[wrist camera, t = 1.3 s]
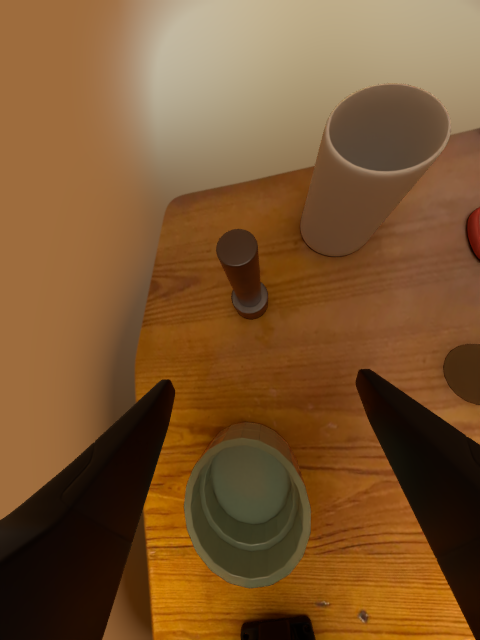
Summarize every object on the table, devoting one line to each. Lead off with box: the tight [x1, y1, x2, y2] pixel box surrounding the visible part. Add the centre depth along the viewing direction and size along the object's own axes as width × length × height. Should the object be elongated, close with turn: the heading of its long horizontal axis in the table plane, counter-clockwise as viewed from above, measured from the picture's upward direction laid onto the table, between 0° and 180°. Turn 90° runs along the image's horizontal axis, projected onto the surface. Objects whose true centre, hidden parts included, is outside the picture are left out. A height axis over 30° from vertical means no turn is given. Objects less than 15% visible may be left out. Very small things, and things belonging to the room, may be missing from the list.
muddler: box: [216, 229, 268, 319], centre depth 18 cm, size 4×4×12 cm
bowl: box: [184, 422, 311, 588], centre depth 18 cm, size 10×10×5 cm
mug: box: [300, 83, 451, 256], centre depth 19 cm, size 12×8×11 cm
